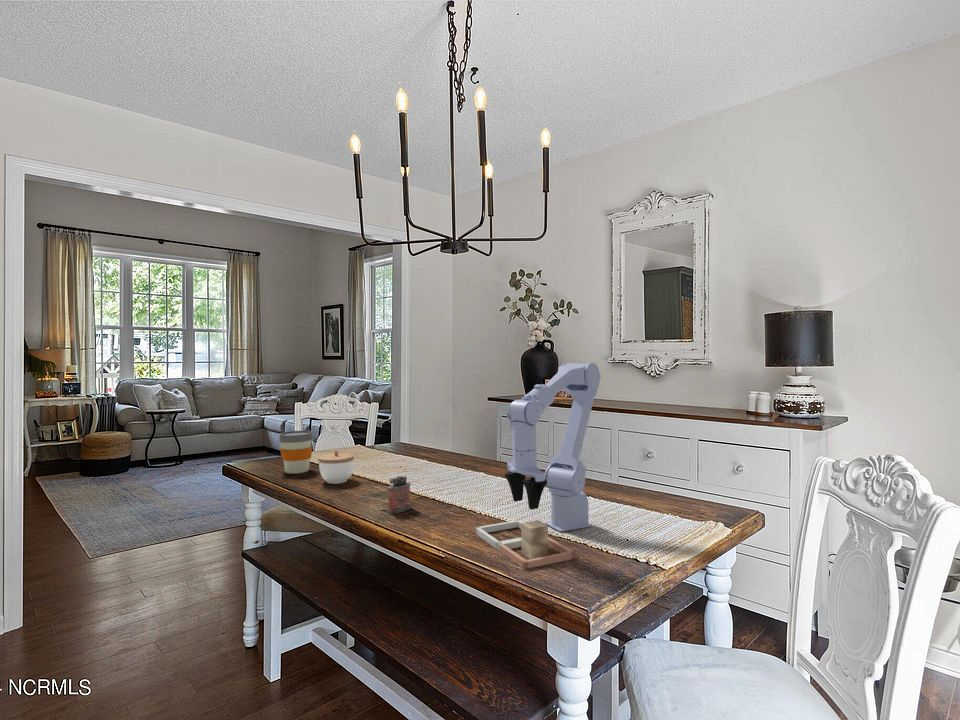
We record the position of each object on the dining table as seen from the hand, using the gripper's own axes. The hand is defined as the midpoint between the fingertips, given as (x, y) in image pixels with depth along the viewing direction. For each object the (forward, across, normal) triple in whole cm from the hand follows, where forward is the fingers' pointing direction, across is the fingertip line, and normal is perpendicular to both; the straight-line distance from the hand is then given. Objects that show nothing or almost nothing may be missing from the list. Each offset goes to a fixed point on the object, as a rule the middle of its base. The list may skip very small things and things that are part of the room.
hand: (525, 504), depth 137 cm
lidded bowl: (+10, -86, -28) cm, 91 cm away
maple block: (+9, +8, -2) cm, 12 cm away
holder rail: (+9, +1, -2) cm, 10 cm away
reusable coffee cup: (+10, -112, -39) cm, 119 cm away
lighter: (+10, -41, -19) cm, 46 cm away
